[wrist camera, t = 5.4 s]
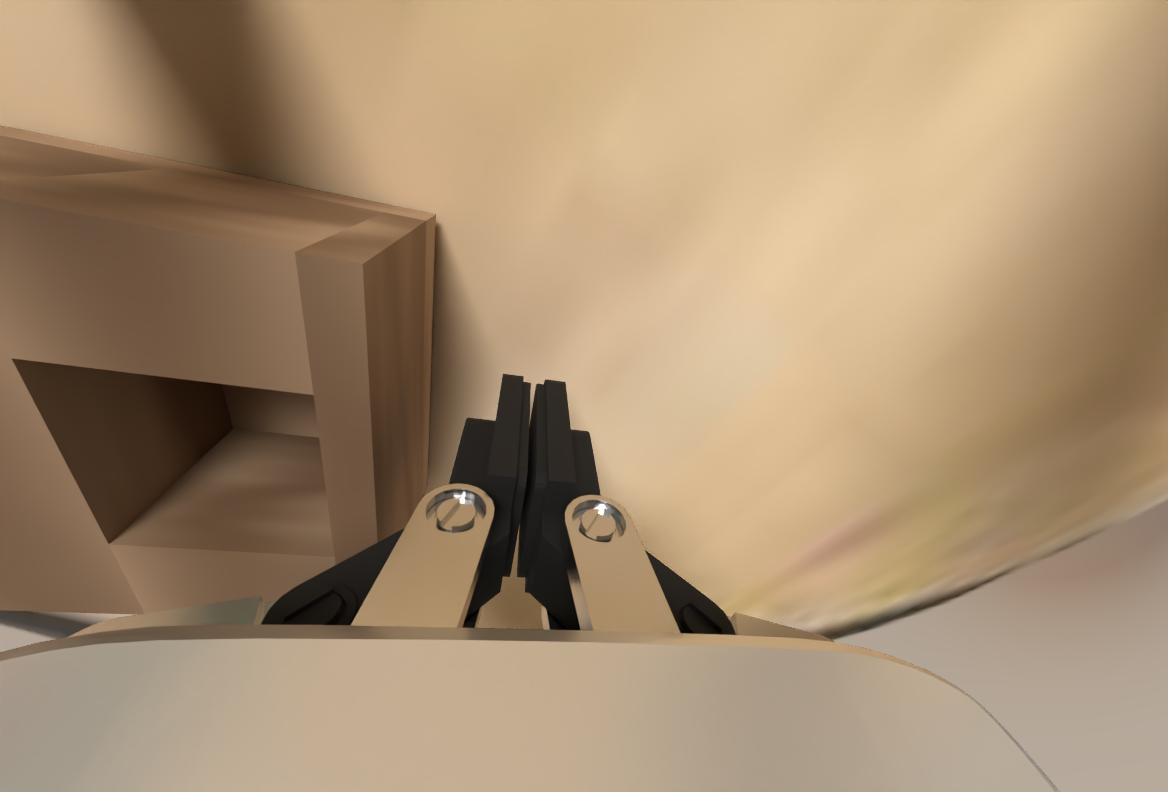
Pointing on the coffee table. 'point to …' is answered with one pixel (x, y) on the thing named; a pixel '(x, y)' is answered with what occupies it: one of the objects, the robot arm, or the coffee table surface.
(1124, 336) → the coffee table surface
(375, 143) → the coffee table surface
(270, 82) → the coffee table surface
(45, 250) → the block
